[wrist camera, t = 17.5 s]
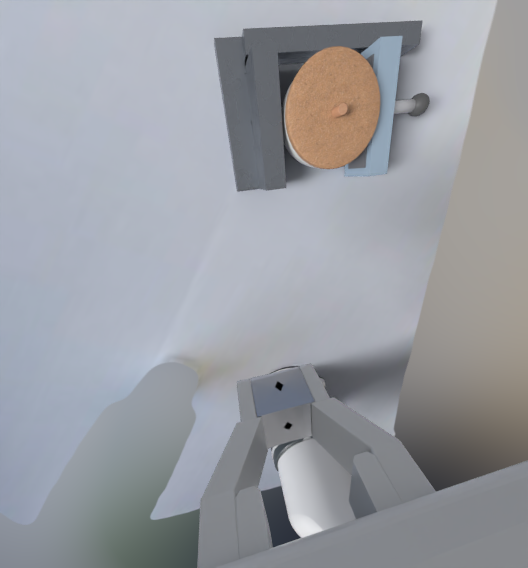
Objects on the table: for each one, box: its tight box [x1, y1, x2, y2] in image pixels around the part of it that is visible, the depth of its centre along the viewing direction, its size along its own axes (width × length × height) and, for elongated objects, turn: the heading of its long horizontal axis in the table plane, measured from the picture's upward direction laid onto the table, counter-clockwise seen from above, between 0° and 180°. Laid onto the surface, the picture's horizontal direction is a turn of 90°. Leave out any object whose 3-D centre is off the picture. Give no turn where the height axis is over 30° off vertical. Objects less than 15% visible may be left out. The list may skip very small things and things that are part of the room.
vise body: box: [214, 21, 422, 191], centre depth 28 cm, size 16×24×6 cm, turn 97°
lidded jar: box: [281, 46, 380, 169], centre depth 27 cm, size 11×11×9 cm
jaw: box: [345, 36, 429, 176], centre depth 30 cm, size 13×10×6 cm
